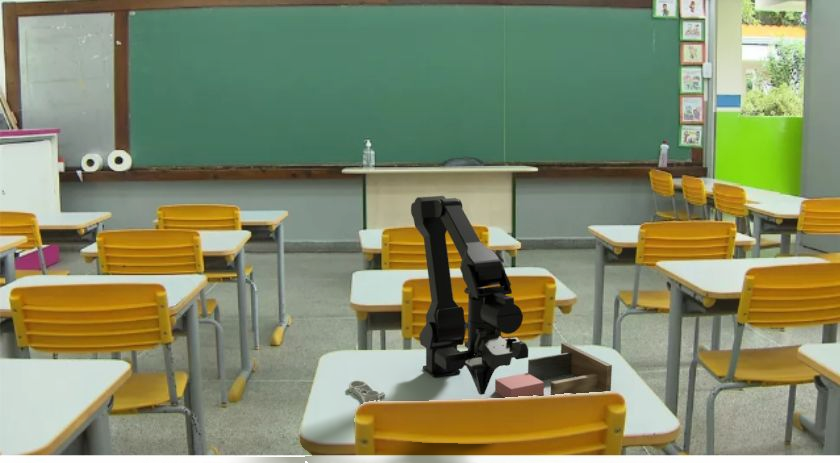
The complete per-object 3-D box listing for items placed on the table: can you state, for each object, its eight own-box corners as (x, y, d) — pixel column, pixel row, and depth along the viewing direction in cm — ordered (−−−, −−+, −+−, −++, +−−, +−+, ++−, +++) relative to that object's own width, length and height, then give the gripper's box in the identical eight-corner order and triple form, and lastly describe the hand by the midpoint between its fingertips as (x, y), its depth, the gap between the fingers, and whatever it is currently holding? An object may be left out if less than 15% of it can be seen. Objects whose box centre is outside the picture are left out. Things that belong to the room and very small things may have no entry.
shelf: (561, 402, 152) (562, 374, 151) (518, 376, 166) (519, 350, 165) (610, 392, 157) (611, 365, 156) (564, 367, 171) (565, 342, 170)
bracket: (345, 408, 146) (349, 378, 160) (346, 418, 146) (349, 387, 161) (385, 408, 146) (385, 378, 161) (385, 417, 146) (385, 387, 161)
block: (510, 403, 153) (511, 389, 152) (495, 392, 158) (495, 379, 157) (543, 396, 156) (543, 382, 156) (527, 386, 161) (527, 373, 161)
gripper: (460, 337, 139) (459, 417, 142) (545, 324, 147) (542, 400, 150) (433, 321, 149) (433, 396, 152) (514, 310, 157) (512, 381, 160)
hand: (481, 393), depth 153 cm, fingers closed
